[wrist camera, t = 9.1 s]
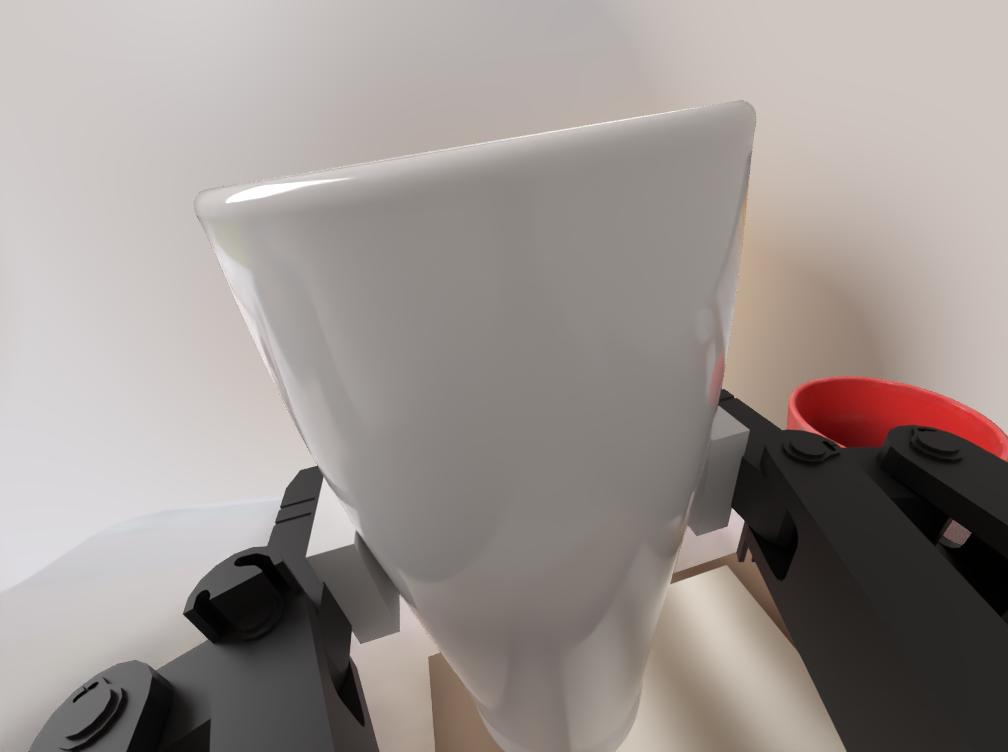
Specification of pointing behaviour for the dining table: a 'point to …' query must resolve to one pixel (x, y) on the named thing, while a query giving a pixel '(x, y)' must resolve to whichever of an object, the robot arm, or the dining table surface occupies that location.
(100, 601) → the dining table surface
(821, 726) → the display stand
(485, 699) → the drinking glass
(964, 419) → the flower pot
